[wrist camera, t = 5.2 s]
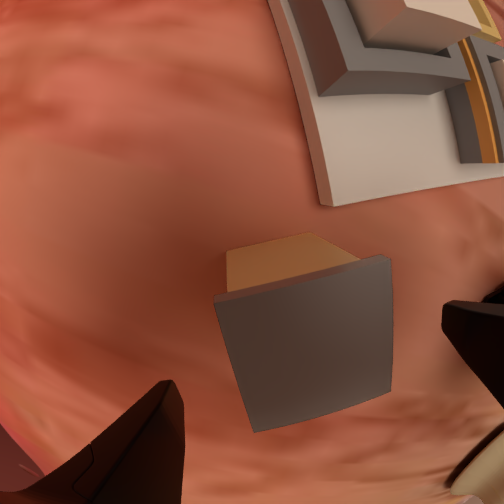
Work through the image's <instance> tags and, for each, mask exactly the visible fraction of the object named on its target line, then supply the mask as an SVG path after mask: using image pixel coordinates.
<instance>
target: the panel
mask: <svg viewBox="0 0 504 504" xmlns="http://www.w3.org/2000/svg"><path fill="white" fill-rule="evenodd" d="M267 1H268V3H269V6H270V9H271V12H272V15H273V18H274V21H275V24H276V27H277V30H278V34H279V37H280V40H281V43H282V47H283V50H284V53H285V57H286V60H287V63H288V67H289V71H290V74H291V78H292V81H293V85H294V89H295V93H296V96H297V100H298V104H299V108H300V112H301V116H302V120H303V124H304V129H305V133H306V137H307V142H308V146H309V151H310V155H311V160H312V165H313V169H314V174H315V179H316V184H317V190H318V195H319V200H320V204H321V205H327V206H332V207H335V206H340V205H345V204H350V203H355V202H360V201H365V200H370V199H376V198H381V197H386V196H391V195H397V194H402V193H407V192H413V191H418V190H424V189H429V188H435V187H441V186H447V185H452V184H458V183H464V182H470V181H477V180H483V179H489V178H496V177H502V176H504V110H503V106H502V102H501V98H500V95H499V91H498V88H497V84H496V81H495V78H494V75H493V72H492V69H491V66H490V63H493V62H496V61H499V60H502V59H503V60H504V48H503V47H501V46H499V45H496V44H494V43H495V42H498V41H500V40H502V39H501V37H500V34H499V32H498V30H497V28H496V26H495V24H494V21H493V19H492V17H491V15H490V13H489V11H488V9H487V8H486V6H485V4H484V2H483V0H468V2H469V3H470V5H471V7H472V9H473V11H474V13H475V15H476V17H477V19H478V21H479V23H480V25H481V28H482V30H481V31H479V32H477V33H475V34H473V35H471V36H468V37H466V38H464V39H462V40H460V41H458V42H456V43H454V44H452V45H450V46H448V47H446V48H444V49H442V50H441V51H439V52H437V53H435V54H433V55H431V54H424V53H418V52H410V51H402V50H392V49H380V48H364V46H363V43H362V41H361V38H360V35H359V33H358V30H357V28H356V25H355V23H354V20H353V18H352V15H351V13H350V11H349V8H348V6H347V4H346V2H345V0H267Z"/></svg>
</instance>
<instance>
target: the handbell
mask: <svg viewBox="0 0 504 504" xmlns="http://www.w3.org/2000/svg"><path fill="white" fill-rule="evenodd" d="M450 492H451V494H452V495H475V496H477V497H479V498H480V499H481V500H482V502H483V503H484V504H504V430H503V431H502V432H501V433H500V434H499V435H498V436H497V437H496V438H495V439H493V440H492V441H491V442H490V443H489V444H488V445H487V446H486V447H485V448H484V449H483V450H482V451H481V452H480V453H479V454H478V455H477V456H476V457H475V458H474V459H473V460H472V461H471V462H470V463H469V464H468V465H467V466H466V467H465V468H464V470H463V471H462V472H461V473H460V475H459V476H458V477H457V478H456V479H455V481H454V482H453V484H452V486H451V487H450Z"/></svg>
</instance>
